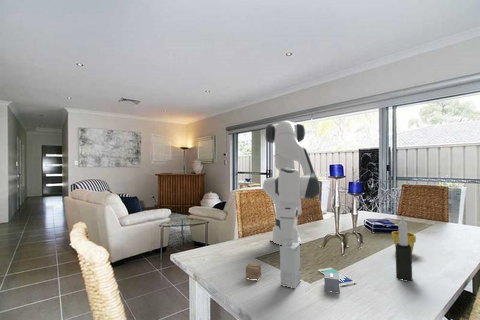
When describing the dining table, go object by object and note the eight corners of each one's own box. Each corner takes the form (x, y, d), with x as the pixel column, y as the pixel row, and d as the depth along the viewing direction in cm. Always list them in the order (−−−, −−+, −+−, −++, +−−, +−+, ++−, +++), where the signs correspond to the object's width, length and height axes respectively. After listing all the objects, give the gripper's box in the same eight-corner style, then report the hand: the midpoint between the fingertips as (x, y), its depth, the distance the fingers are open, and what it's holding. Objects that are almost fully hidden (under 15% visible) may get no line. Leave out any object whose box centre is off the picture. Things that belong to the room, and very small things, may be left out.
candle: (397, 274, 101) (396, 214, 102) (412, 277, 98) (410, 215, 99) (395, 278, 97) (394, 216, 98) (411, 282, 94) (409, 217, 95)
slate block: (324, 285, 93) (324, 271, 93) (338, 287, 91) (338, 273, 91) (324, 291, 88) (324, 277, 88) (339, 293, 87) (339, 279, 87)
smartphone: (331, 267, 108) (357, 282, 93) (331, 269, 108) (357, 284, 93) (317, 269, 105) (341, 285, 91) (317, 271, 105) (341, 287, 91)
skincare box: (295, 289, 89) (294, 249, 90) (279, 285, 92) (279, 246, 93) (301, 280, 97) (300, 242, 97) (286, 277, 100) (286, 240, 100)
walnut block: (249, 274, 102) (249, 262, 103) (261, 276, 101) (260, 263, 101) (246, 279, 98) (245, 266, 98) (258, 281, 96) (257, 268, 96)
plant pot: (393, 254, 124) (392, 235, 124) (391, 248, 133) (390, 230, 133) (418, 257, 119) (417, 237, 119) (414, 251, 128) (413, 232, 128)
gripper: (285, 204, 106) (285, 236, 106) (277, 213, 87) (277, 252, 86) (300, 205, 104) (300, 237, 104) (295, 214, 85) (295, 254, 84)
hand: (290, 244), depth 95 cm, fingers closed
